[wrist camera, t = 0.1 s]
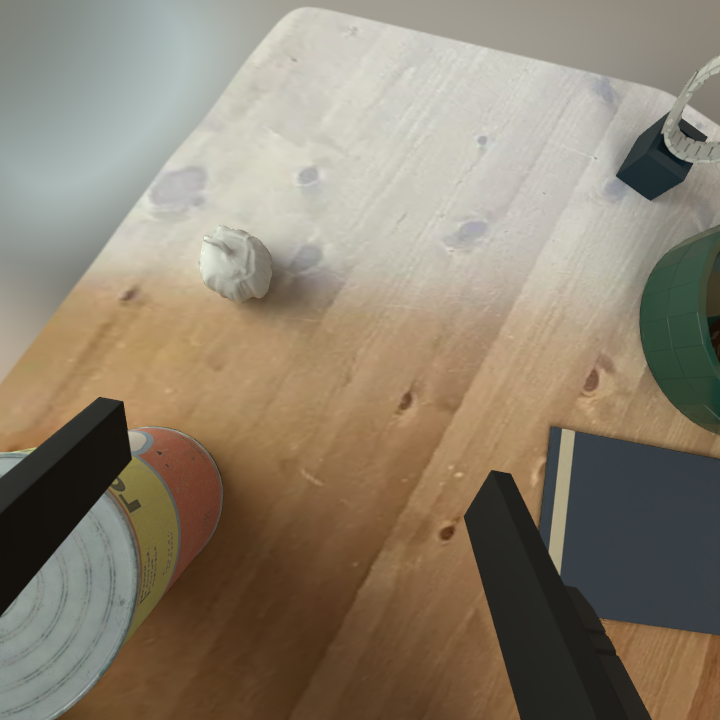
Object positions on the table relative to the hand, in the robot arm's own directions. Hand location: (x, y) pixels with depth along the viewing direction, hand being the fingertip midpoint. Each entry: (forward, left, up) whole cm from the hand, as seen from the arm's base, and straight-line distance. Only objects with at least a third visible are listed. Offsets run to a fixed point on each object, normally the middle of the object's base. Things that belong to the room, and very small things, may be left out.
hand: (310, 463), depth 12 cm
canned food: (-8, +12, -16) cm, 21 cm away
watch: (+31, -27, -16) cm, 44 cm away
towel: (-4, -30, -15) cm, 34 cm away
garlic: (+11, +9, -16) cm, 21 cm away
